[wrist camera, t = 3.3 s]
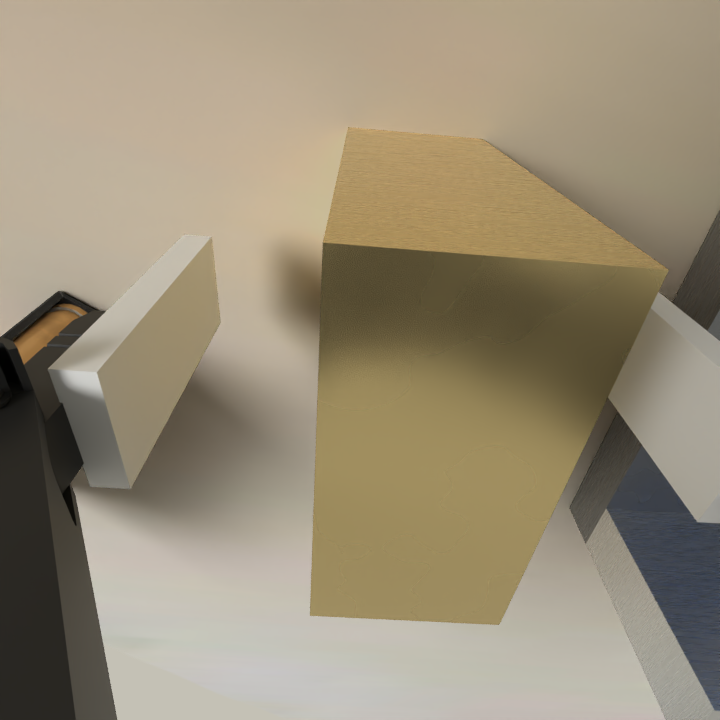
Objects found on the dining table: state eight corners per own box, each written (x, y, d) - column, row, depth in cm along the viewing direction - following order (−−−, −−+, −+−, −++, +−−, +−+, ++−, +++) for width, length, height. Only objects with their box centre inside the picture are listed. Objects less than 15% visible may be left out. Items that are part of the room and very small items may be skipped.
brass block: (348, 127, 14) (323, 242, 5) (482, 139, 14) (668, 269, 5) (335, 354, 18) (309, 615, 10) (436, 362, 18) (499, 625, 10)
